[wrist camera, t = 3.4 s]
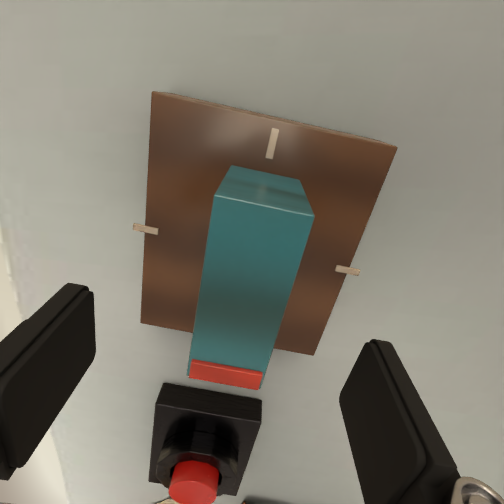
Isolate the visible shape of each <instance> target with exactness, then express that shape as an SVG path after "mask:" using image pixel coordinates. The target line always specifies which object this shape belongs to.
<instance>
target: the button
mask: <svg viewBox="0 0 504 504" xmlns="http://www.w3.org/2000/svg"><path fill="white" fill-rule="evenodd" d="M218 480H219V471H218V469H217V468H215V467H213V466H211V465H209V464H208V463H204V462H198V461H185V462H179V463H177V464H176V465H175V467H174V471H173V475H172V478H171V482H170V486H169V495H170V497H171V498H172V499H173V500H174V501H176V502H178V503H180V504H211V503H213V502H214V501H215V499H216V496H217V488H218Z"/></svg>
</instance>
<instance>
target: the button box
mask: <svg viewBox="0 0 504 504" xmlns="http://www.w3.org/2000/svg"><path fill="white" fill-rule="evenodd" d="M261 418H262V400H258V399H252V398H247V397H241V396H236V395H230V394H225V393H219V392H213V391H208V390H202V389H197V388H191V387H186V386H180V385H175V384H169V383H163V385H162V388H161V390H160V393H159V396H158V398H157V401H156V404H155V415H154V426H153V437H152V448H151V458H150V469H149V480H148V481H149V482H154V483H160V484H163V485H164V486H165V487H166V488H168V489H169V486H170V482H171V478H172V475H173V471H174V467H175V465H176V464H177V463H179V462H185V461H198V462H204V463H208V464H209V465H211V466H213V467H215V468H217V469H218V471H219V480H218V488H217V496H221V495H222V494H227V495H234V496H236V495H237V492H238V489H239V486H240V483H241V480H242V477H243V474H244V471H245V469H246V466H247V463H248V460H249V457H250V454H251V451H252V448H253V445H254V442H255V440H256V437H257V434H258V431H259V428H260V425H261Z"/></svg>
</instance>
